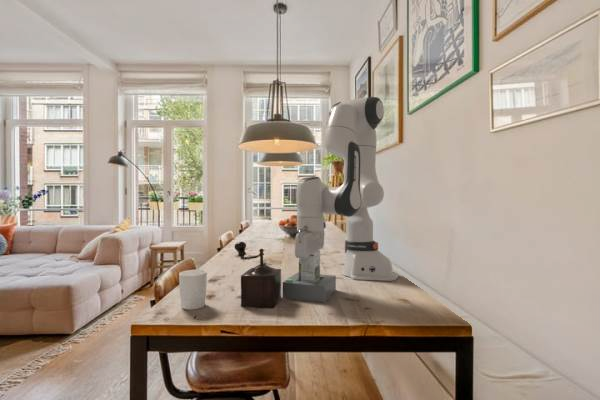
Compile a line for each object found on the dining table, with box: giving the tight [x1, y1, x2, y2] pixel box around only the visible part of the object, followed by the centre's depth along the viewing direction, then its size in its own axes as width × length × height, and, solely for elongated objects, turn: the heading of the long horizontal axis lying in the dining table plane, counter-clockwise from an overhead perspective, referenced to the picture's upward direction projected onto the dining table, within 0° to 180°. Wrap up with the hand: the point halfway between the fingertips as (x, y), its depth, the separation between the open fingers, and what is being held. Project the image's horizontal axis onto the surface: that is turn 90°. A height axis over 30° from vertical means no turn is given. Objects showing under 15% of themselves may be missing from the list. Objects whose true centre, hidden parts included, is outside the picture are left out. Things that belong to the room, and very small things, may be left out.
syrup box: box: [298, 250, 321, 283], centre depth 104 cm, size 6×6×14 cm
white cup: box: [178, 268, 208, 311], centre depth 93 cm, size 8×8×10 cm
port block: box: [282, 271, 337, 304], centre depth 104 cm, size 14×14×6 cm
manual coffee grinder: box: [234, 241, 282, 309], centre depth 97 cm, size 16×11×18 cm
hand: (310, 266), depth 104 cm, fingers open, 8 cm apart
